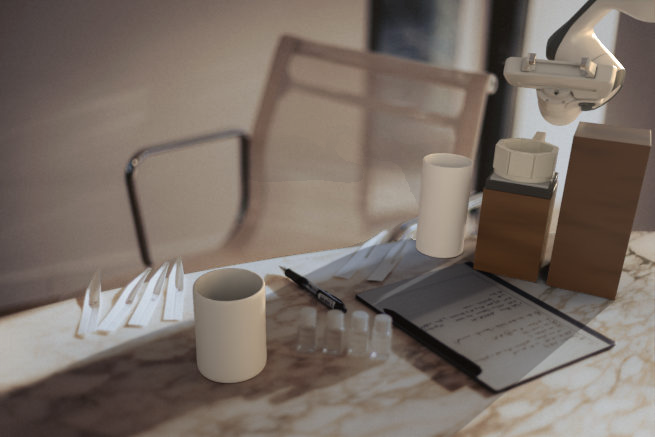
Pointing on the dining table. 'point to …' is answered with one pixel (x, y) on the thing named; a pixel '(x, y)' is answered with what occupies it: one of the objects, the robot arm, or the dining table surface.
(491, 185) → the scale
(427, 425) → the dining table surface
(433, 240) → the cup
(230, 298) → the mug
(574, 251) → the stand
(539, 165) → the cream rounded piece
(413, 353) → the dining table surface
